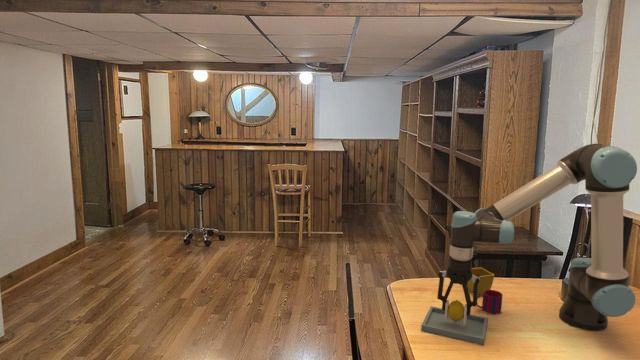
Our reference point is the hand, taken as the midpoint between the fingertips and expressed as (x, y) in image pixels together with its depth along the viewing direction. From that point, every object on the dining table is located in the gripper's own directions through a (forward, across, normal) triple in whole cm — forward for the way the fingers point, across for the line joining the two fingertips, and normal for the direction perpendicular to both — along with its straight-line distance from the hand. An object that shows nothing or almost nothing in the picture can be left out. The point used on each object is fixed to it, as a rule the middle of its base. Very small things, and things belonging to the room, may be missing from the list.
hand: (455, 321), depth 156 cm
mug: (+3, +9, +19) cm, 21 cm away
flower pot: (+3, +4, +34) cm, 34 cm away
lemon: (+1, 0, 0) cm, 1 cm away
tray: (+2, 0, 0) cm, 2 cm away
